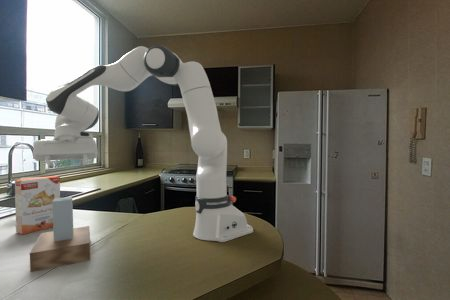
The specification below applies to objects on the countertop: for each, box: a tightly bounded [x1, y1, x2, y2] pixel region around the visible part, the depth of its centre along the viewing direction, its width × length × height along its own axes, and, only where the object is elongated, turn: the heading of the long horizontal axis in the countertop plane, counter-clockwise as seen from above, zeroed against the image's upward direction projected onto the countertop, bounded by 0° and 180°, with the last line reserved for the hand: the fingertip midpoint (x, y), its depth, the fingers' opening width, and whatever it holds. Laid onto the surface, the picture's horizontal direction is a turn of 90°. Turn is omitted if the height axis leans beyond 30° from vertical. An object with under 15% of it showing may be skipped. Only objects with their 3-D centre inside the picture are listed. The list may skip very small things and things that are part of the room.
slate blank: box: [52, 196, 74, 242], centre depth 79 cm, size 5×5×12 cm
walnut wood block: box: [29, 225, 91, 273], centre depth 79 cm, size 14×18×5 cm
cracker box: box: [14, 175, 61, 236], centre depth 103 cm, size 14×6×21 cm, turn 149°
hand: (66, 166), depth 90 cm, fingers open, 8 cm apart
